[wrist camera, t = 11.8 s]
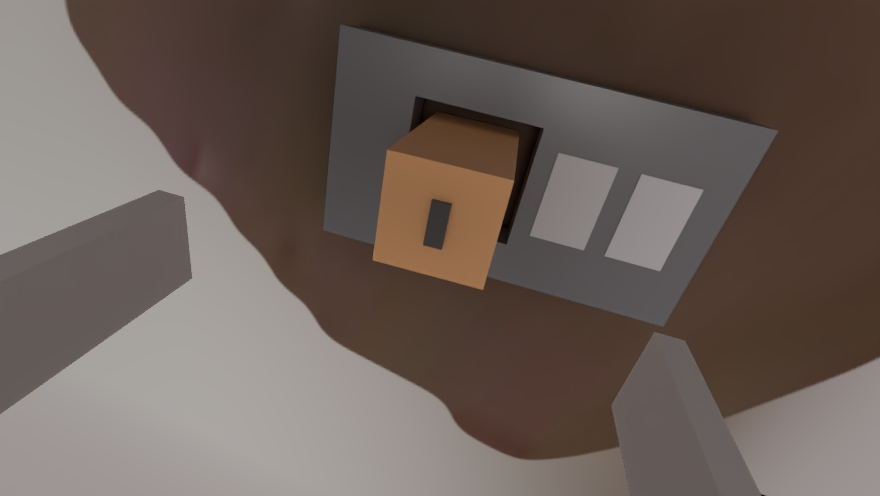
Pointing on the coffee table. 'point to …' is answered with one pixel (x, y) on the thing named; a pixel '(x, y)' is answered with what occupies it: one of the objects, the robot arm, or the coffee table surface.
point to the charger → (446, 198)
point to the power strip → (552, 169)
